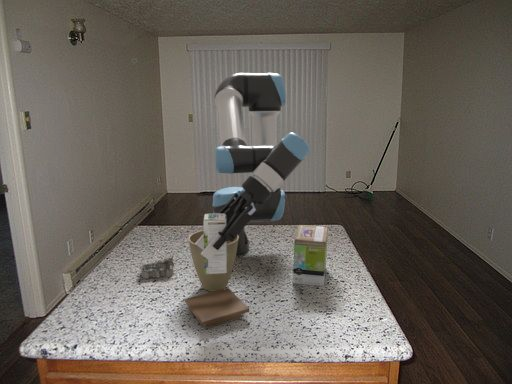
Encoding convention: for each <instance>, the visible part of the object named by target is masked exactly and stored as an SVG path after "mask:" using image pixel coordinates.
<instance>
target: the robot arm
mask: <svg viewBox="0 0 512 384" xmlns="http://www.w3.org/2000/svg"><path fill="white" fill-rule="evenodd" d="M285 87H286V85H285V83H284V80H283V77H282V75H281V74H280V73H276V72H275V73H274V72H237V73H233V74H231V75H228V76H226V77H225V78H224V79H223V80H222V81H221V82H220V83H219V85H218V86H217V88H216V90H215V93H214V105H215V107H216V109H217V111H218V125H219V139H220V146H217V147H215V149H214V163H215V164H214V165H215V171H216V172H217V173H219V174H230V175H231V174H243V173H244V174H245V173H247V174H249V173H250V174H251V173H252V175H251V176H248V177H247V179H245V181H244V182H243V183H242V185H241V186H231V187H225V188H224V187H223V188H221V189H218V190H216V191H215V192H214V193H213V195H212V204H211V205H212V210H213V211H212V212H213V213H221V214H226V226H225V228H224V229H223V231H222V232H218V234H217V236H216V237H215V238H214V239H213V240H212V241H211V242H210V243H209V245H208V246H207V247H206V248H205V249H204V234H203V235H202V236H201V237H200V238H199V239H198V241H197V242H196V243H195V244H196V245H197V246H199V247H200V248H201V249H202V250H203V251H202V252H201V255H203V256H204V257H205V258H206V259H208V260H210V259H211V258H212V257H213V256H214V255H215V254H216V253H217V251H218V250H219V249H220V248H221V247H222V246H223V245H224V244H225V242H226V241H229V240H230V241H231V242H232V241H233V240H234V239H235V238H236V237H237V235H238V236H239V239H238V246H237V252H236V256H238V255H242V254H245V253H247V252H248V251H249V250H250V241H249V238H248V235H247V233H246V230H245V227H246V225H247V224H248V223H254V222H255V223H257V222H261V223H262V222H275V221H279V220H281V218H282V217H283V216H284V211H285V207H286V206H285V205H286V193H285V191H284V190H283V189H281V187H282V184H283V183H284V182H285V180H286V179H287V178H288V177H289V176H290V175H291V174H292V173H293V171H295V170H296V168H298V167H299V165H300V164H301V163H302V162H303V161H304V160H305V158H306V157H307V155H309V154H310V150H311V149H310V145H309V144H308V143H307V142H306V141H305V139H303V138H302V137H301V136H300V135H298V134H297V133H295V132H288V133H287V134H286V135H285V136H284V137H283V138H281V141H280V142H279V143H277V117H278V116H279V114H280V113H281V112H282V111H281V109H282V108H283V107H285V105H286V96H287V95H286V88H285ZM244 107H245V108H246V107H247V108H248V113H249V114H250V115H251V116H252V145H248V144H247V139H246V131H245V125H244V120H243V119H244V118H243V112H242V108H244Z"/></svg>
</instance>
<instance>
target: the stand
mask: <svg viewBox="0 0 512 384" xmlns="http://www.w3.org/2000/svg"><path fill="white" fill-rule="evenodd" d="M184 303H185V304H186V305H187V307H188V308H189V310H190V311H191V312H192V313H193V315H194V316H195V318H196V319H197V320H198V322H199V323H200V324H201V325H202V326H204V327H205V328H206V329H208V328H212V327H215V326H218V325H222V324H225V323H228V322H231V321H235V320H237V319H242V318H243V315H244V314H246V313H247V314H248V313H250V307H248V306H247V305H246V304H245V302H244V301H243V300H241V299H240V298H239V297H238V296H237V295H236V294H235V293H234V292H233V290H231V289H230V288H229V287H228V288H227V287H226V288H224V289H222V290H218V291H209V292H206V293H203V294H200V295H195V296H191V297H187V298H184Z"/></svg>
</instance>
